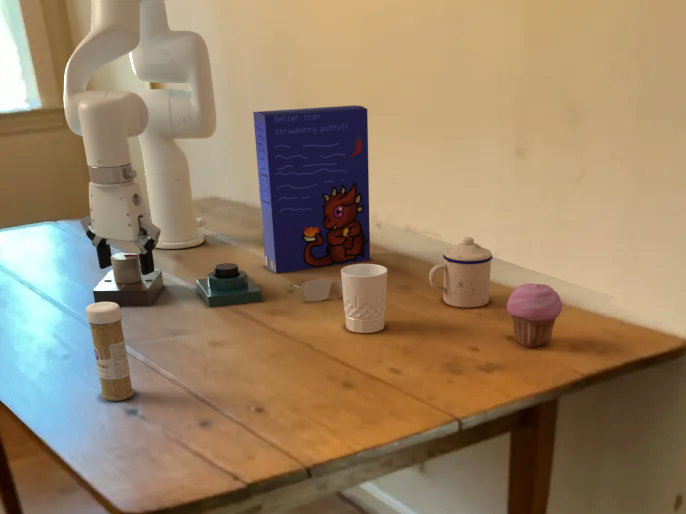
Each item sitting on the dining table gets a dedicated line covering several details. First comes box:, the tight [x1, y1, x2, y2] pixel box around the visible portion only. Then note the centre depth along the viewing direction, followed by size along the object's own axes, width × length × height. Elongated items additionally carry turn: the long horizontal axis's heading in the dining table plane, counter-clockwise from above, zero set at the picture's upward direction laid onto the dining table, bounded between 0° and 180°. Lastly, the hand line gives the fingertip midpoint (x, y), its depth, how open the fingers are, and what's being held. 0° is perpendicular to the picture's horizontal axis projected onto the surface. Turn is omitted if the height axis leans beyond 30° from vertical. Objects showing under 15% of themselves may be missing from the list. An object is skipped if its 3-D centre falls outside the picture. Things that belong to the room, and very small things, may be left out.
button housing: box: [195, 269, 263, 308], centre depth 172 cm, size 12×10×4 cm
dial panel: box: [92, 270, 165, 307], centre depth 172 cm, size 13×10×3 cm
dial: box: [111, 252, 142, 284], centre depth 170 cm, size 5×5×5 cm
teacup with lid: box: [428, 236, 493, 309], centre depth 167 cm, size 12×9×12 cm
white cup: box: [340, 263, 388, 334], centre depth 155 cm, size 8×8×10 cm
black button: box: [213, 262, 239, 278], centre depth 171 cm, size 4×4×2 cm
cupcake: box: [506, 282, 563, 348], centre depth 149 cm, size 9×9×10 cm
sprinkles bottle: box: [85, 302, 134, 402], centre depth 129 cm, size 5×5×13 cm
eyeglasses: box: [290, 277, 343, 303], centre depth 174 cm, size 14×8×4 cm, turn 112°
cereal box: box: [252, 104, 371, 274], centre depth 185 cm, size 22×6×30 cm, turn 119°
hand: (127, 270), depth 171 cm, fingers open, 9 cm apart
